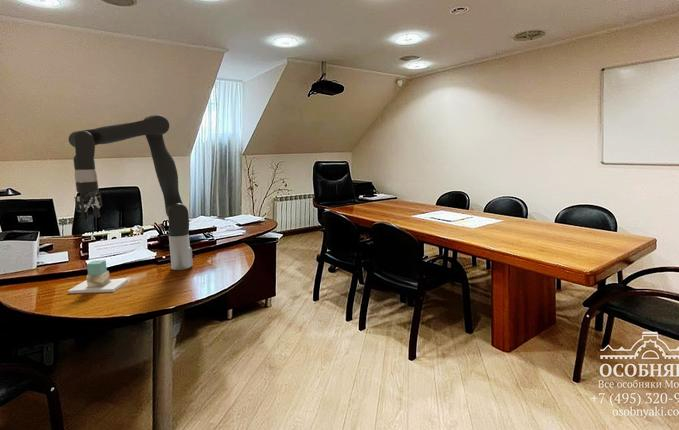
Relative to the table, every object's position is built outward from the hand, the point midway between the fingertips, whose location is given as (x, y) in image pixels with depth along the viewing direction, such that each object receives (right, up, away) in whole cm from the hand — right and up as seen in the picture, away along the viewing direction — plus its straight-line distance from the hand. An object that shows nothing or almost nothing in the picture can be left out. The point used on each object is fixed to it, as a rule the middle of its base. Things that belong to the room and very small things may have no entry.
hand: (91, 219), depth 152 cm
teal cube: (0, -23, +4) cm, 24 cm away
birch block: (0, -28, +5) cm, 29 cm away
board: (0, -30, +5) cm, 30 cm away
